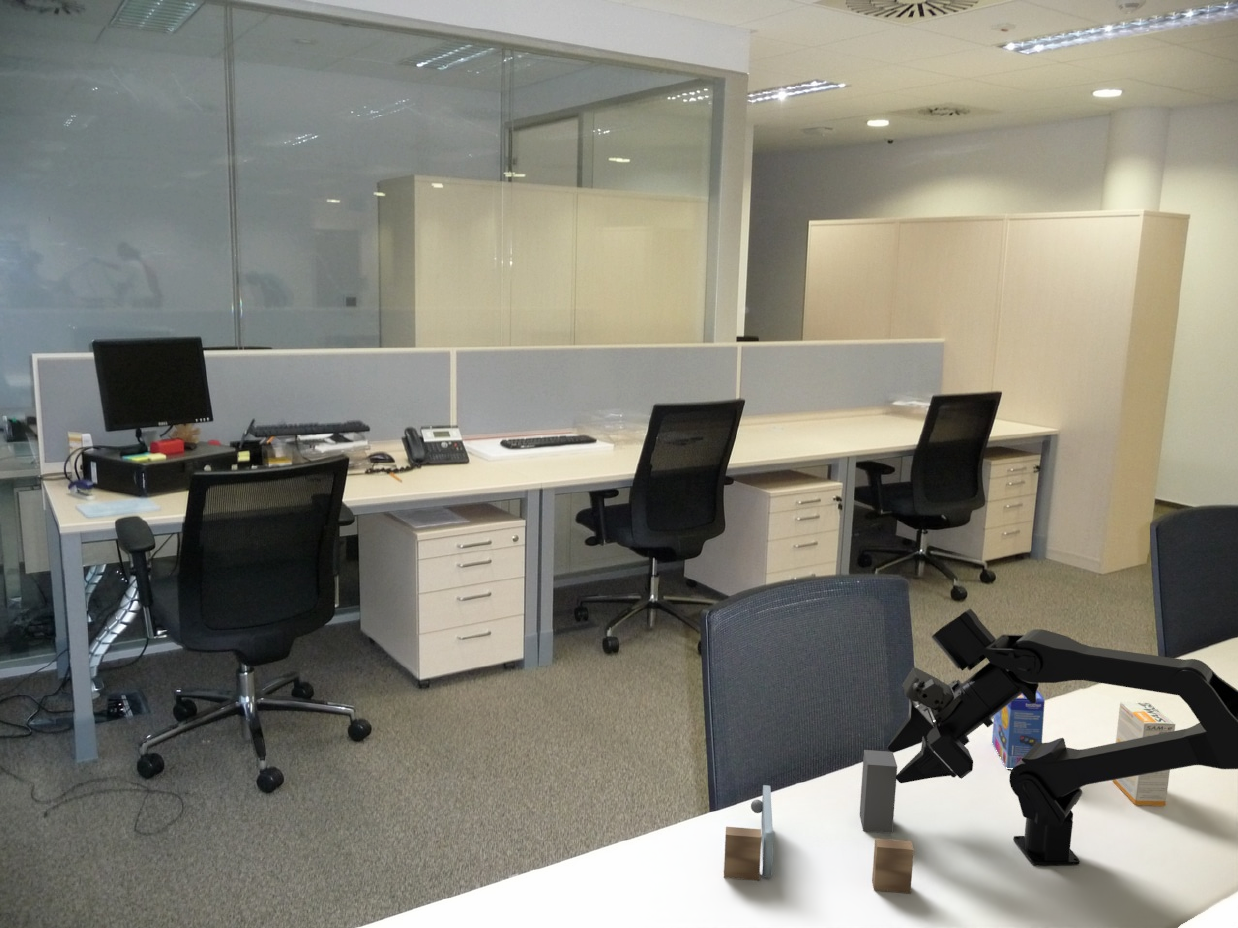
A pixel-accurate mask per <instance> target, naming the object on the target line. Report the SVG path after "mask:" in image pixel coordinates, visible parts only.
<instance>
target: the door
mask: <svg viewBox="0 0 1238 928" xmlns="http://www.w3.org/2000/svg"><path fill="white" fill-rule="evenodd" d="M771 791H772V790H771V785H765V784H763V785H762V799H761V800H760V799H754V800H752V801H751V804H750V809H751V810H752V812H754V813H756V814H760V813H761V819H760V821H761V849H762V850H761V851H762V873H761V874H762V876H763V877H765V878H771V877H772V876H773V875H772V874H773V857H774V855H773V854H774V838H775V836H774V835H775V832H774V827H773V810H772V809H773V808H772V795H771V794H772V793H771Z"/></svg>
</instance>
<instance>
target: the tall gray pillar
mask: <svg viewBox="0 0 1238 928" xmlns="http://www.w3.org/2000/svg"><path fill="white" fill-rule="evenodd" d="M897 774H898V764H897V760H896V758H895V755H894V753H893V752H890V751H886V750H885V751H884V750H869V749H863V759H862V773H861V787H860V788H861V790H860V802H859V818H860V823H861V827H862V831H863V832H869V833H870V832H872V833H873V832H874V833H882V834H883V833H885V834H893V827H894V826H893V825H894V815H895V801H896V788H897V779H896V775H897Z"/></svg>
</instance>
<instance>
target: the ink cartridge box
mask: <svg viewBox="0 0 1238 928" xmlns="http://www.w3.org/2000/svg"><path fill="white" fill-rule="evenodd" d="M1045 705H1046V704H1045V698H1044V697H1043V695H1042V694H1041V692H1040V691H1038V690H1037V691H1036V703H1034V704H1032V703H1031V702H1030V701H1029V700H1028V699H1027V698H1026V697H1025V696H1024V694H1023V693H1022V694H1021V695H1020V696H1018V697H1017V698H1016V699H1014V700H1013V701H1012V702H1011V703H1009V704H1008V705H1007V706H1005V707H1004V708H1003V709H1001V710H1000V711H999V712H998V713H996V714H995V715H994V716H993V720H992V721H993V724H992V739H991V744H992V743H993V744H992V745H994V746H993V747H995V748H996V749H995V748H994V749H995V751H996V750H997V751H996V753H997V752H998V753H997V755H998V754H999V755H1000V757H1001V759H1000V760H1002V761H1003V762H1002V761H1001V762H1002V764H1003V763H1004V764H1003V766H1004V765H1005V766H1004V768H1005V767H1007V768H1014V767H1015V766H1016V764H1017V763H1018V762H1019V761H1020V760H1021V759H1022V758H1023V757H1024V755H1025V754H1026V753H1027V752H1028V751H1029V750H1030V749H1031V748H1032V747H1033V746H1034V745H1035V743H1036V742H1041V743H1043V729H1044V720H1045V719H1044V718H1045V717H1044V716H1045ZM999 755H998V756H999ZM1000 757H999V758H1000Z"/></svg>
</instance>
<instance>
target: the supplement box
mask: <svg viewBox="0 0 1238 928" xmlns="http://www.w3.org/2000/svg"><path fill="white" fill-rule="evenodd" d="M1172 731H1176V723H1175V722H1174V721H1172V719H1170V718H1168V716H1166V715H1165V714H1164V713H1162V712H1161V710H1159V709H1157V708H1156V707H1155V705H1153V704H1152V703H1151V702H1148V701H1147V702H1146V701H1143V702H1142V701H1137V702H1136V701H1120V703H1119V707H1118V719H1117V727H1116V735H1115V743H1117V742H1122V741H1127V740H1132V739H1137V738H1142V737H1147V736H1152V735H1157V734H1162V733H1167V732H1172ZM1170 773H1171V772H1170V770H1166V771H1160V772H1155V773H1149V774H1143V775H1138V776H1132V777H1127V778H1121V779H1116V780H1113V781H1114V782H1113V781H1112V782H1113V783H1114V784H1115V785H1116V786H1117V787H1118V788H1119V790H1121V791H1122V792H1123V793H1124V795H1126V797H1128V799H1129V800H1130V801H1131V802H1132V803H1133V804H1134V805H1136V806H1144V805H1145V806H1146V805H1150V807H1152V806H1155V807H1156V806H1159V807H1164V806H1166V805H1167V797H1168V796H1167V795H1168V789H1169V782H1170V781H1169V779H1170ZM1151 805H1152V806H1151Z"/></svg>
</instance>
